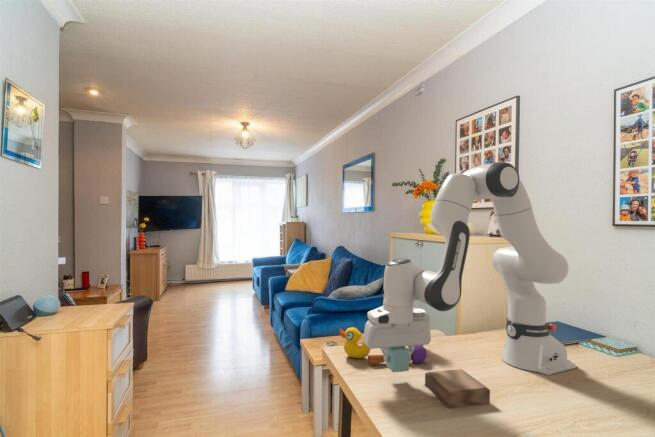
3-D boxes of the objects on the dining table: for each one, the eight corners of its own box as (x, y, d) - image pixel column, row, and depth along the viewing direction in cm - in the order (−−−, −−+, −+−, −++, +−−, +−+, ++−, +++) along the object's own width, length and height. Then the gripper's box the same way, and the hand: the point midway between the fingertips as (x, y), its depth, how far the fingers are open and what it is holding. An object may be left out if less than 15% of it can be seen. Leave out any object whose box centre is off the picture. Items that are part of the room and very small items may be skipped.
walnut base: (461, 381, 100) (461, 368, 100) (489, 403, 88) (489, 388, 88) (425, 385, 97) (425, 371, 97) (448, 408, 85) (449, 392, 85)
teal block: (401, 363, 102) (401, 343, 102) (408, 370, 97) (409, 350, 97) (385, 364, 101) (386, 344, 101) (392, 372, 96) (393, 351, 96)
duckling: (335, 356, 116) (336, 327, 116) (342, 351, 121) (342, 323, 121) (366, 363, 111) (367, 333, 111) (372, 357, 116) (372, 328, 116)
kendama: (365, 349, 114) (420, 341, 117) (367, 367, 113) (423, 359, 116) (371, 352, 108) (428, 344, 111) (373, 372, 107) (431, 363, 110)
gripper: (424, 309, 105) (423, 353, 105) (362, 312, 100) (361, 358, 100) (435, 315, 99) (434, 362, 99) (369, 318, 94) (368, 367, 94)
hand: (397, 360), depth 99 cm, fingers closed on teal block, 5 cm apart
